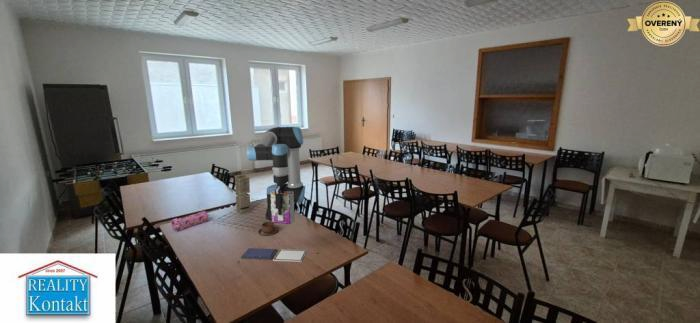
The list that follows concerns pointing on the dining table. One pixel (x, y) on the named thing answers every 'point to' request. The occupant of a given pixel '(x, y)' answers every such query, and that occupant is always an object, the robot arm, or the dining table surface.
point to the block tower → (242, 193)
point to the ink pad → (259, 253)
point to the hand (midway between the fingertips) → (282, 218)
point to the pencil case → (189, 221)
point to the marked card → (290, 255)
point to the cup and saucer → (268, 228)
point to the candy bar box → (287, 207)
